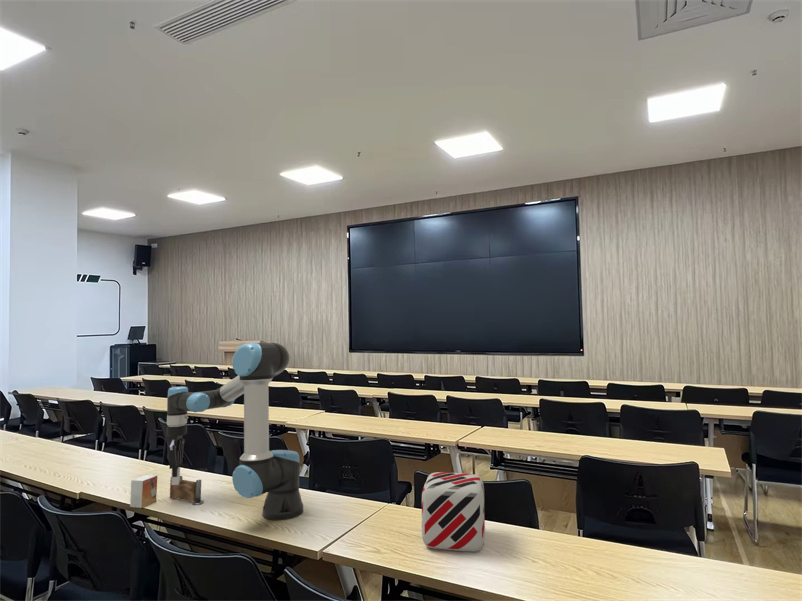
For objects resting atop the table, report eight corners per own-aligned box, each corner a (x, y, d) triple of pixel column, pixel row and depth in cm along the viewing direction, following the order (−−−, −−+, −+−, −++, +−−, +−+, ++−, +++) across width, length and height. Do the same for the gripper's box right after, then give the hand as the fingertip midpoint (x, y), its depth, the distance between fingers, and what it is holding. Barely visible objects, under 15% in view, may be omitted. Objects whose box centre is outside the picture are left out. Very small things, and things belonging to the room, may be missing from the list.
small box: (141, 508, 180) (142, 480, 181) (129, 507, 181) (130, 479, 182) (156, 501, 187) (158, 475, 188) (145, 500, 189) (146, 474, 190)
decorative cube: (485, 557, 139) (484, 489, 141) (420, 552, 143) (419, 486, 145) (484, 530, 159) (484, 471, 161) (427, 526, 163) (427, 468, 164)
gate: (196, 501, 187) (197, 480, 188) (192, 502, 185) (193, 481, 186) (173, 496, 192) (173, 476, 193) (168, 498, 190) (169, 477, 191)
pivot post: (206, 502, 186) (207, 479, 187) (197, 505, 182) (198, 482, 183) (198, 500, 188) (199, 478, 189) (189, 504, 184) (190, 481, 185)
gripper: (181, 427, 183) (179, 488, 180) (191, 422, 195) (190, 479, 193) (161, 428, 182) (159, 489, 179) (173, 422, 195) (171, 480, 192)
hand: (175, 484), depth 186 cm, fingers closed
